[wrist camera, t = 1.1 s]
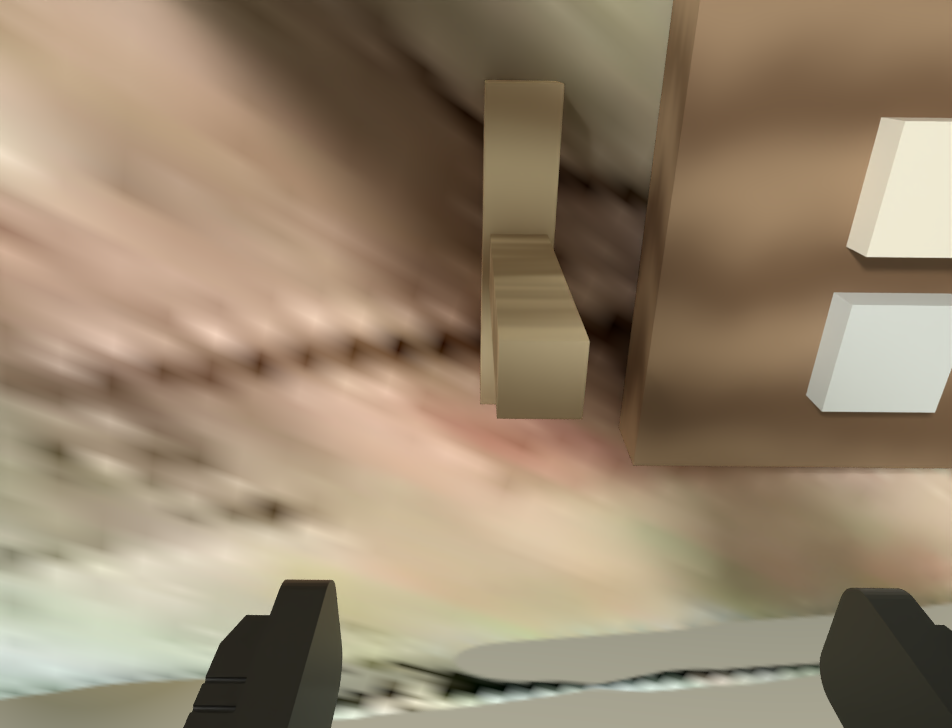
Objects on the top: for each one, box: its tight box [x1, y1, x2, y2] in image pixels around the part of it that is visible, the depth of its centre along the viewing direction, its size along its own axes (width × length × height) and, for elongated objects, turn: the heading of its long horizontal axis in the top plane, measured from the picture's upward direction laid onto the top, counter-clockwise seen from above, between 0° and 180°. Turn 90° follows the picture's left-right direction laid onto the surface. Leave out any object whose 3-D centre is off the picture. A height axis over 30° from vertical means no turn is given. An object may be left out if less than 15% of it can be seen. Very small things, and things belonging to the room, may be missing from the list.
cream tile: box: [846, 117, 952, 258], centre depth 25 cm, size 5×5×2 cm
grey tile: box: [806, 292, 952, 413], centre depth 28 cm, size 5×5×2 cm
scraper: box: [480, 80, 590, 419], centre depth 24 cm, size 14×3×14 cm, turn 179°
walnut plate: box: [619, 0, 952, 468], centre depth 28 cm, size 20×16×4 cm
